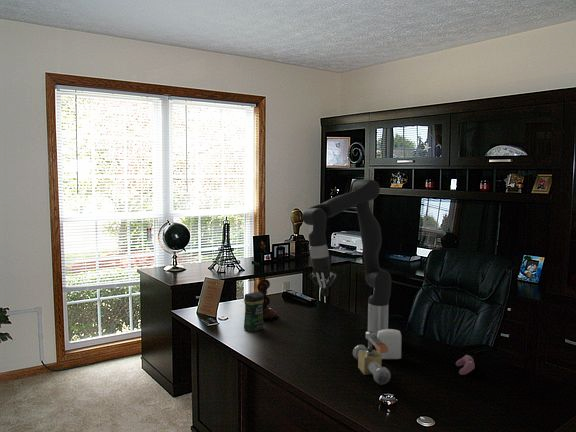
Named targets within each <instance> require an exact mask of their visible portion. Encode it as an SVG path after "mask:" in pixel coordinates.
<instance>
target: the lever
mask: <svg viewBox="0 0 576 432" xmlns="http://www.w3.org/2000/svg"><path fill="white" fill-rule="evenodd" d="M365 339H366V340H367V341H368V340H369V341H370V342H371V343H372V346H374V347H375V350H376V351H377V350H378V351H379V352H380V353H388V347H387V346H386V345H385V344H384V343H383V342H381V341H380V340H379V339H378V338H377V337H376V336H375V332H373V331H368V330H367V331H365Z"/></svg>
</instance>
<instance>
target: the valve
mask: <svg viewBox="0 0 576 432" xmlns="http://www.w3.org/2000/svg"><path fill="white" fill-rule="evenodd" d="M352 355H353V357H354V359H355V360H356V361H357V368H358V369H359V370H360V372H361V373H362V374H363V375H364V376H365V375H372V376H373V377H372V378H373V380H374V382H376V384H378V385H381V386H384V385H386V384H387V383H389V382H390V380H391V377H392V375H391V371H390V370H389V369H388V368H387V367H385V366H382V361H383V359H382V356H381V355H380V354H379V353H378V352H377V349H373V344H372V343H371V342H370V341H369V340H367V347H366V346H365V345H364V344H357V345H356V346H354V348H353V350H352Z"/></svg>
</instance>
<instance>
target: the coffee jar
mask: <svg viewBox="0 0 576 432" xmlns="http://www.w3.org/2000/svg"><path fill="white" fill-rule="evenodd" d="M243 298H244V299H243V301H244V306H245V307H244V320H243V322H244V323H243V329H244V330H245V331H246V332H252V333H254V332H258V331H261V330H263V329H264V327H265V325H264V319H263V302H264V297H263V293H261V292H258V290H257V291H253V292H250V293H245V294H244V297H243Z"/></svg>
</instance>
